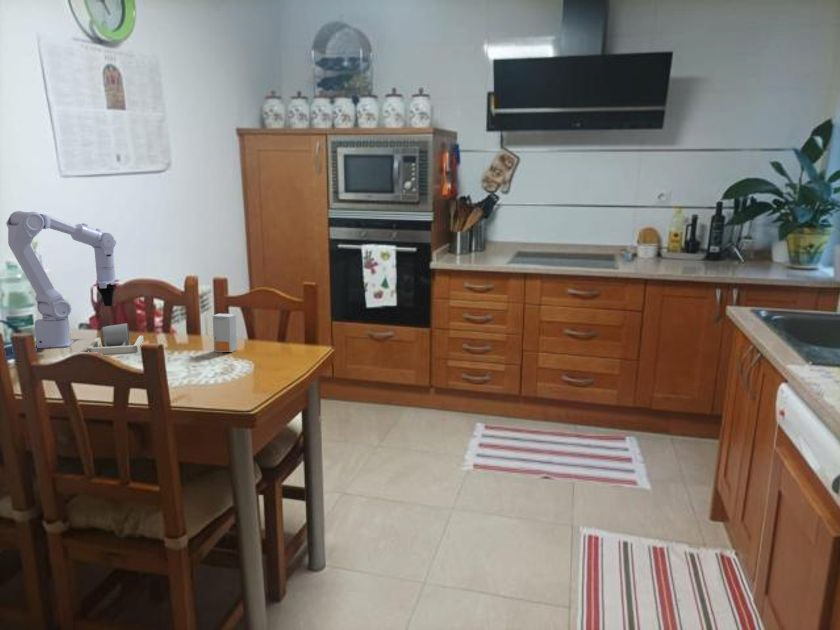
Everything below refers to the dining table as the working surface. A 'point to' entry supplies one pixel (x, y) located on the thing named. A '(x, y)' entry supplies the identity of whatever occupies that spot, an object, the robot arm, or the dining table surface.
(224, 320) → the skincare box
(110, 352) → the holder
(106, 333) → the ceramic mug
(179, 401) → the dining table surface
